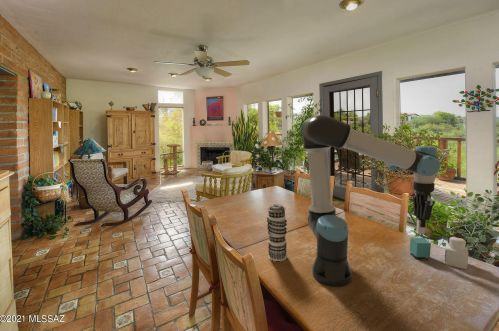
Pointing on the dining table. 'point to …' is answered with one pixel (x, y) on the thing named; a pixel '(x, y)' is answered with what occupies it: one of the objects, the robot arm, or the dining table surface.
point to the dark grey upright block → (419, 257)
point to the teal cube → (420, 247)
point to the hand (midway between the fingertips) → (420, 233)
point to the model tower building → (277, 232)
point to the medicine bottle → (456, 252)
